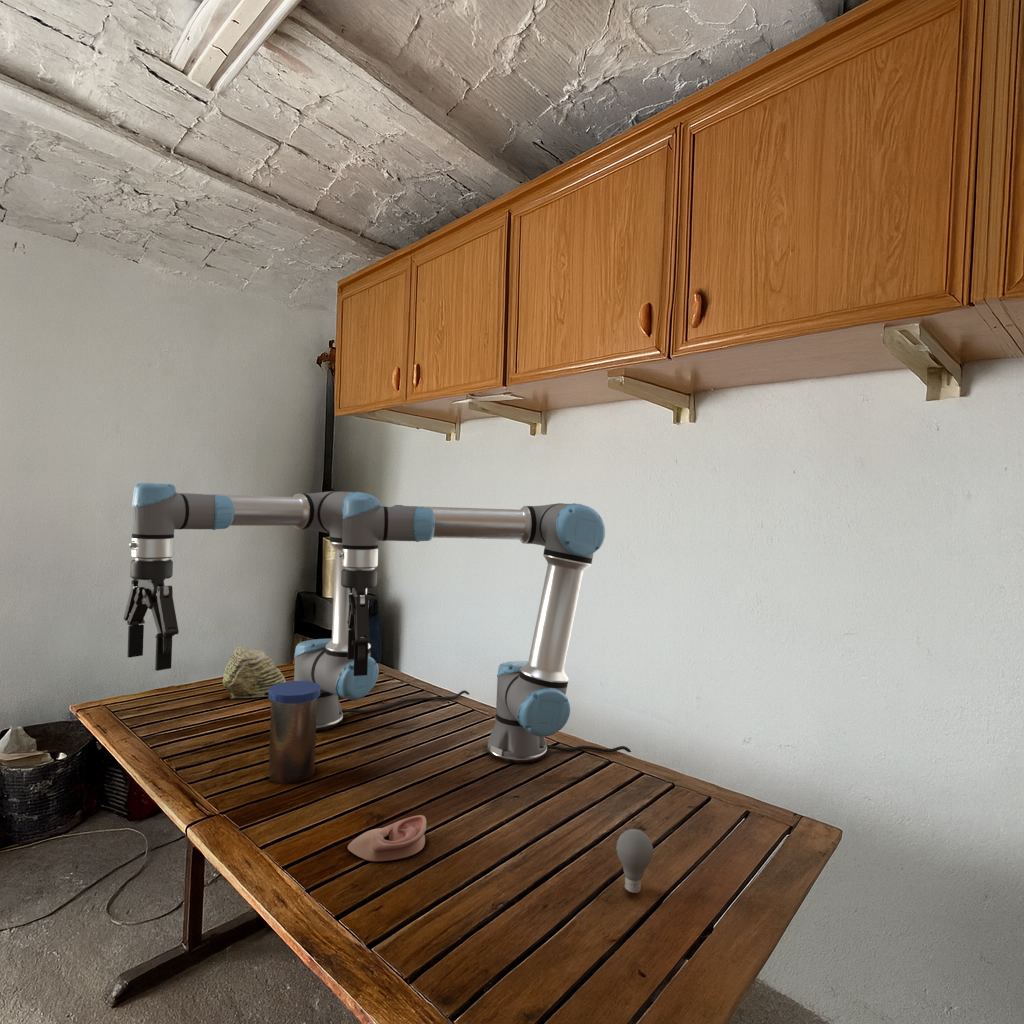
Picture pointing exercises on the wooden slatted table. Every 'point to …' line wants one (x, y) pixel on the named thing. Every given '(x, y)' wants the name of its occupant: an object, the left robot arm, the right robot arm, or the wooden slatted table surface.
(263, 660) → the fossil
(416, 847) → the anatomical model
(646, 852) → the light bulb
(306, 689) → the lid
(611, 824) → the wooden slatted table surface
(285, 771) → the jar
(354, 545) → the right robot arm
